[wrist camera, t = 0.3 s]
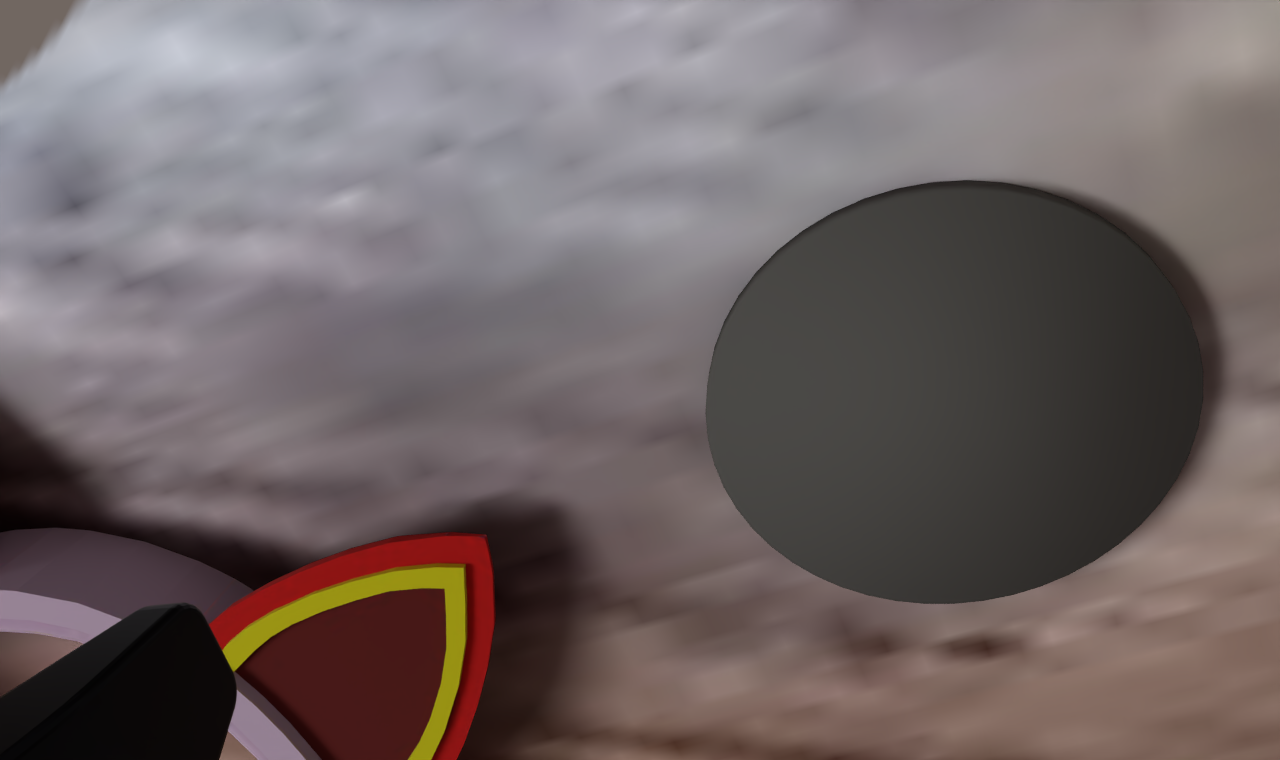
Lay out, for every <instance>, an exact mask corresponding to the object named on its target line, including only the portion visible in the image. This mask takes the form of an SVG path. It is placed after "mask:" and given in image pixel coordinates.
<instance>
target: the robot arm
mask: <svg viewBox="0 0 1280 760" xmlns="http://www.w3.org/2000/svg"><path fill="white" fill-rule="evenodd" d="M236 699H237V684H236V680H235V675H234V673H233V671H232V669H231V667H230V665H229V663H228V661H227V659H226V657H225V655H224V653H223V651H222V649H221V647H220V645H219V643H218V641H217V639H216V638H215V636H214V634H213V632H212V630H211V628H210V626H209V624H208V622H207V620H206V618H205V616H204V615H203V613H202V612H201V611H200V610H199V609H198V608H197V607H196V606H194V605H193V604H189V603H185V602H181V603H170V604H160V605H151V606H146V607H143V608H140V609H138V610H136V611H135V612H133V613H132V614H130V615H128V616H127V617H125V618H124V619H122V620H121V621H119V622H117V623H116V624H114V625H113V626H111V627H110V628H108V629H107V630H105V631H103V632H102V633H100V634H99V635H97V636H96V637H94V638H92V639H91V640H89V641H88V642H86V643H85V644H83V645H81V646H80V647H78V648H77V649H75V650H74V651H72V652H70V653H69V654H67V655H66V656H64V657H63V658H61V659H59V660H58V661H56V662H55V663H53V664H52V665H50V666H49V667H47V668H45V669H44V670H42V671H41V672H39V673H38V674H36V675H34V676H33V677H31V678H30V679H28V680H27V681H25V682H23V683H22V684H20V685H19V686H17V687H16V688H14V689H12V690H11V691H9V692H8V693H6V694H5V695H3V696H1V697H0V760H219V758H220V755H221V752H222V748H223V745H224V742H225V739H226V735H227V732H228V729H229V726H230V722H231V719H232V716H233V713H234V709H235V705H236Z"/></svg>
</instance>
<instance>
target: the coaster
mask: <svg viewBox="0 0 1280 760" xmlns="http://www.w3.org/2000/svg"><path fill="white" fill-rule="evenodd" d="M1202 402H1203V368H1202V362H1201V356H1200V350H1199V344H1198V341H1197V338H1196V335H1195V332H1194V329H1193V326H1192V324H1191V321H1190V318H1189V315H1188V313H1187V312H1186V310H1185V308H1184V306H1183V304H1182V303H1181V301H1180V299H1179V297H1178V295H1177V293H1176V292H1175V290H1174V288H1173V287H1172V286H1171V284H1170V283H1169V281H1168V280H1167V278H1166V277H1165V276H1164V275H1163V273H1162V272H1161V271H1160V269H1159V268H1158V267H1157V266H1156V264H1155V263H1154V262H1153V261H1152V259H1151V258H1150V257H1149V255H1148V254H1147V253H1146V252H1145V251H1144V250H1143V249H1142V248H1141V247H1139V246H1138V245H1137V244H1136V243H1135V242H1134V241H1133V240H1132V239H1131V238H1130V237H1129V236H1128V235H1126V234H1125V233H1124V232H1123V231H1121V230H1120V229H1119V228H1117V227H1116V226H1114V225H1113V224H1111V223H1110V222H1108V221H1107V220H1105V219H1104V218H1102V217H1101V216H1099V215H1098V214H1096V213H1094V212H1092V211H1090V210H1088V209H1086V208H1084V207H1082V206H1080V205H1077V204H1075V203H1073V202H1071V201H1069V200H1067V199H1064V198H1061V197H1058V196H1055V195H1052V194H1049V193H1046V192H1043V191H1039V190H1036V189H1032V188H1027V187H1021V186H1016V185H1011V184H1005V183H997V182H981V181H951V182H935V183H927V184H921V185H916V186H910V187H905V188H899V189H895V190H892V191H888V192H885V193H882V194H879V195H875V196H872V197H869V198H866V199H863V200H860V201H858V202H856V203H854V204H851V205H849V206H847V207H845V208H842V209H840V210H838V211H836V212H833V213H831V214H830V215H828V216H826V217H825V218H823V219H821V220H820V221H818V222H816V223H815V224H813V225H811V226H810V227H808V228H806V229H805V230H803V231H802V232H801V233H799V234H798V235H797V236H795V237H794V238H793V239H792V240H790V241H789V242H788V243H787V244H785V245H784V246H783V247H781V248H780V249H779V250H778V251H777V252H776V253H775V254H774V255H773V256H772V257H771V258H770V259H769V260H768V261H767V262H766V263H765V264H764V265H763V266H762V267H761V268H760V269H759V270H758V271H757V272H756V273H755V275H754V276H753V277H752V279H751V280H750V281H749V283H748V284H747V285H746V287H745V288H744V289H743V291H742V292H741V293H740V295H739V296H738V298H737V300H736V301H735V303H734V305H733V307H732V309H731V310H730V312H729V314H728V316H727V318H726V319H725V321H724V324H723V327H722V329H721V332H720V335H719V337H718V340H717V343H716V345H715V348H714V353H713V358H712V362H711V367H710V372H709V378H708V385H707V399H706V423H707V434H708V441H709V445H710V449H711V453H712V457H713V461H714V465H715V467H716V469H717V472H718V474H719V477H720V479H721V481H722V484H723V486H724V488H725V490H726V492H727V493H728V495H729V497H730V498H731V500H732V502H733V503H734V505H735V507H736V508H737V510H738V511H739V512H740V513H741V515H742V516H743V517H744V518H745V520H746V521H747V522H748V523H749V525H750V526H751V527H752V528H753V530H755V531H756V532H757V533H758V534H759V535H760V536H761V537H762V538H763V539H764V540H765V541H766V542H767V543H768V544H769V545H770V546H771V547H772V548H774V549H775V550H777V551H778V552H779V553H781V554H782V555H783V556H785V557H786V558H787V559H789V560H790V561H791V562H793V563H794V564H796V565H798V566H800V567H801V568H803V569H805V570H807V571H808V572H810V573H812V574H813V575H815V576H817V577H820V578H822V579H824V580H826V581H829V582H831V583H833V584H836V585H838V586H840V587H843V588H846V589H850V590H853V591H856V592H859V593H862V594H866V595H869V596H874V597H879V598H884V599H889V600H894V601H903V602H913V603H923V604H955V603H965V602H975V601H984V600H989V599H994V598H999V597H1005V596H1010V595H1014V594H1017V593H1020V592H1024V591H1027V590H1030V589H1034V588H1037V587H1040V586H1043V585H1045V584H1048V583H1050V582H1052V581H1055V580H1057V579H1060V578H1062V577H1065V576H1067V575H1069V574H1071V573H1073V572H1075V571H1076V570H1078V569H1080V568H1082V567H1084V566H1086V565H1088V564H1089V563H1091V562H1093V561H1095V560H1096V559H1098V558H1099V557H1101V556H1102V555H1103V554H1105V553H1106V552H1108V551H1109V550H1111V549H1112V548H1114V547H1115V546H1116V545H1118V544H1119V543H1120V542H1122V541H1123V540H1124V539H1125V538H1126V537H1127V536H1128V535H1130V534H1131V533H1132V532H1133V531H1134V530H1135V529H1136V528H1138V527H1139V526H1140V525H1141V524H1142V523H1143V522H1144V521H1145V519H1146V518H1147V517H1148V516H1149V515H1150V514H1151V513H1152V512H1153V511H1154V509H1155V508H1156V507H1157V506H1158V505H1159V504H1160V503H1161V501H1162V500H1163V498H1164V497H1165V495H1166V494H1167V493H1168V491H1169V490H1170V488H1171V487H1172V485H1173V484H1174V482H1175V481H1176V479H1177V478H1178V476H1179V474H1180V472H1181V470H1182V468H1183V466H1184V464H1185V462H1186V460H1187V458H1188V456H1189V454H1190V451H1191V448H1192V445H1193V442H1194V439H1195V436H1196V432H1197V429H1198V426H1199V420H1200V414H1201V408H1202Z"/></svg>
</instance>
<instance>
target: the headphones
mask: <svg viewBox="0 0 1280 760" xmlns="http://www.w3.org/2000/svg"><path fill="white" fill-rule="evenodd" d="M181 602H185V603H189V604H193V605H194V606H196V607H197V608H198V609H199V610H200V611H201V612H202V613H203V615H204V616H205V618H206V620H207V622H208V624H209V626H210V628H211V630H212V632H213V634H214V636H215V638H216V639H217V641H218V643H219V645H220V647H221V649H222V651H223V653H224V655H225V657H226V659H227V661H228V663H229V665H230V667H231V669H232V671H233V673H234V675H235V680H236V684H237V699H236V705H235V709H234V713H233V716H232V719H231V722H230V726H229V729H228V731H229V732H230V733H231V734H232V735H233V736H234V737H235V738H236V739H237V740H238V741H239V742H240V743H241V744H242V745H243V746H244V747H245V748H246V749H248V750H249V751H250V752H251V753H252V754H253V755H254V756H255V757H256V758H257V759H258V760H457V758H458V755H459V753H460V751H461V749H462V747H463V745H464V742H465V740H466V737H467V734H468V731H469V728H470V726H471V723H472V720H473V717H474V714H475V712H476V709H477V706H478V703H479V700H480V696H481V692H482V688H483V684H484V680H485V676H486V673H487V669H488V665H489V659H490V653H491V646H492V640H493V633H494V627H495V619H496V614H495V589H494V568H493V563H492V558H491V553H490V548H489V544H488V539H487V535H484V534H471V533H458V532H444V533H431V534H417V535H404V536H397V537H392V538H389V539H385V540H381V541H377V542H373V543H369V544H366V545H362V546H358V547H354V548H351V549H348V550H345V551H342V552H340V553H337V554H334V555H331V556H329V557H326V558H323V559H320V560H318V561H315V562H312V563H310V564H308V565H305V566H303V567H301V568H299V569H297V570H295V571H292V572H290V573H288V574H286V575H284V576H282V577H280V578H277V579H275V580H273V581H271V582H269V583H267V584H265V585H264V586H262V587H260V588H259V589H257V590H255V591H254V590H252V589H251V588H249V587H247V586H246V585H244V584H243V583H241V582H239V581H238V580H236V579H234V578H232V577H230V576H228V575H226V574H224V573H222V572H220V571H218V570H216V569H214V568H212V567H210V566H208V565H206V564H204V563H202V562H200V561H197V560H194V559H191V558H189V557H186V556H183V555H180V554H178V553H175V552H172V551H169V550H167V549H164V548H161V547H158V546H156V545H153V544H150V543H147V542H144V541H139V540H134V539H129V538H124V537H120V536H115V535H110V534H105V533H100V532H95V531H90V530H78V529H65V528H41V529H23V530H12V531H6V532H1V533H0V632H1V631H2V632H18V633H35V634H42V635H47V636H52V637H57V638H63V639H68V640H73V641H78V642H81V643H83V644H85V643H86V642H88V641H89V640H91V639H92V638H94V637H96V636H97V635H99V634H100V633H102V632H103V631H105V630H107V629H108V628H110V627H111V626H113V625H114V624H116V623H117V622H119V621H121V620H122V619H124V618H125V617H127V616H128V615H130V614H132V613H133V612H135V611H136V610H138V609H140V608H143V607H146V606H151V605H160V604H170V603H181Z"/></svg>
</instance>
